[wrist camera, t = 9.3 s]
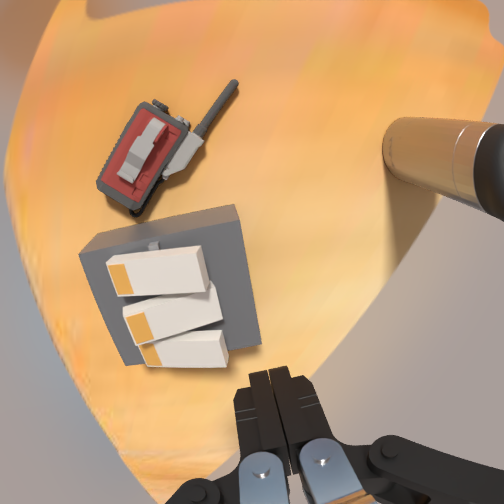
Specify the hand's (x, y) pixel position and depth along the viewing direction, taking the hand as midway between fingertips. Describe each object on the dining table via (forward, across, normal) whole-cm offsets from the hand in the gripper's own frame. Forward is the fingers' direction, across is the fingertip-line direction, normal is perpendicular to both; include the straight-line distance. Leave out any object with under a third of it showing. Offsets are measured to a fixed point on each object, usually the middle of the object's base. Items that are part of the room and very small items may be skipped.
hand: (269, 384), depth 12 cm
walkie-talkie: (+30, +6, -10) cm, 32 cm away
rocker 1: (+21, +8, +8) cm, 24 cm away
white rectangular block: (+21, +8, +3) cm, 22 cm away
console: (+29, +8, +8) cm, 31 cm away
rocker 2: (+21, +8, +13) cm, 26 cm away
